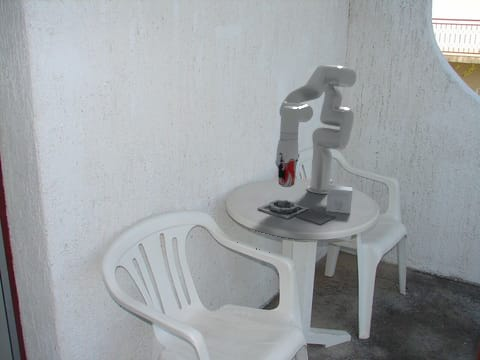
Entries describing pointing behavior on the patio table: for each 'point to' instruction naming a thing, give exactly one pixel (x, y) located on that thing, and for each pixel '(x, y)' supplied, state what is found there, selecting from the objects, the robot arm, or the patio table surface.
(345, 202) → the skincare box
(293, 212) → the collar
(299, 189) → the patio table surface
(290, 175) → the soda can
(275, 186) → the patio table surface
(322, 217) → the mat
